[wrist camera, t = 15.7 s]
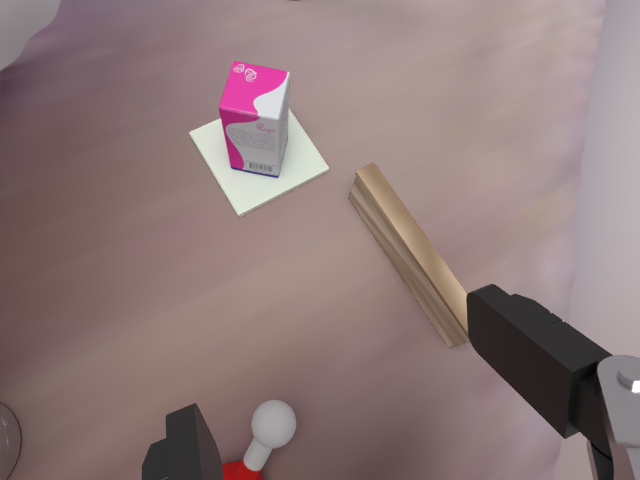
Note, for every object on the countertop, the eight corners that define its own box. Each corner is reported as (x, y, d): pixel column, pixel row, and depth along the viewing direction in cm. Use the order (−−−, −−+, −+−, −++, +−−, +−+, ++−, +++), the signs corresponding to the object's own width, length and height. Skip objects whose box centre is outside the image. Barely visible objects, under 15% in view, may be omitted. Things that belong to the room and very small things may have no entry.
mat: (238, 217, 50) (238, 215, 49) (190, 136, 53) (188, 132, 52) (328, 171, 53) (329, 168, 52) (278, 96, 56) (278, 92, 55)
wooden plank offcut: (446, 348, 48) (473, 341, 41) (345, 198, 52) (356, 171, 45) (462, 337, 48) (491, 329, 42) (361, 190, 53) (373, 161, 46)
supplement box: (289, 135, 53) (292, 70, 42) (278, 179, 51) (279, 122, 40) (241, 125, 53) (232, 57, 42) (229, 169, 51) (216, 109, 40)
